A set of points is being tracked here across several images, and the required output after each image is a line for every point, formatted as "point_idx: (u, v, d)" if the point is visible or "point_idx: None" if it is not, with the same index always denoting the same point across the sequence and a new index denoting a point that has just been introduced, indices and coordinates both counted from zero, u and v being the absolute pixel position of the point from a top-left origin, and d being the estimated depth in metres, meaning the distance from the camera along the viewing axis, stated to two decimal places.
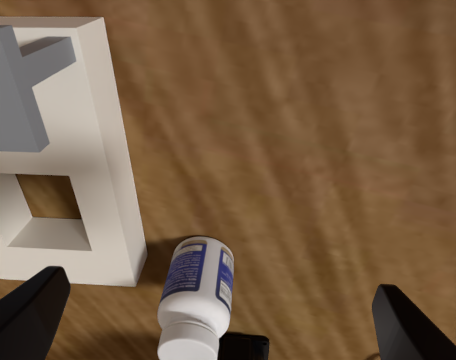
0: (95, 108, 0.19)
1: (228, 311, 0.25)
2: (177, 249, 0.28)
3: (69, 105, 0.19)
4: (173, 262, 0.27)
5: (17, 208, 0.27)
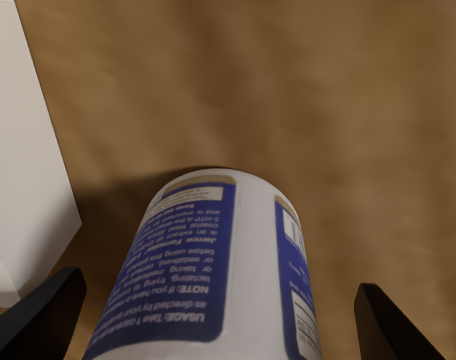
0: None
1: None
2: (152, 203, 0.10)
3: None
4: (137, 236, 0.09)
5: None
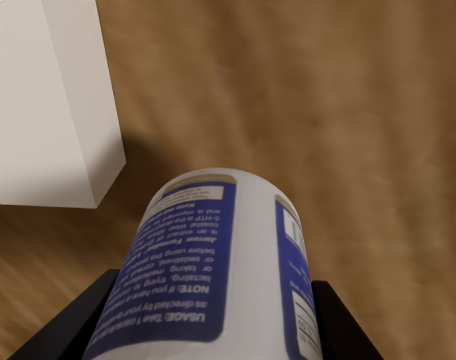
0: None
1: None
2: (152, 202, 0.10)
3: None
4: (137, 236, 0.09)
5: None
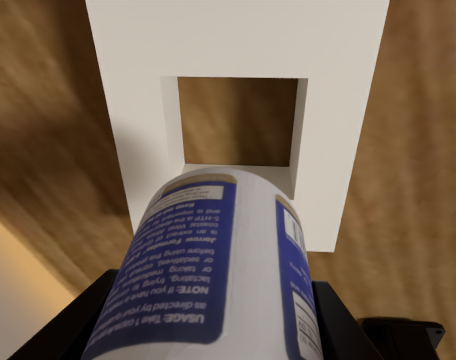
0: None
1: None
2: (152, 202, 0.10)
3: None
4: (136, 236, 0.09)
5: (178, 146, 0.20)
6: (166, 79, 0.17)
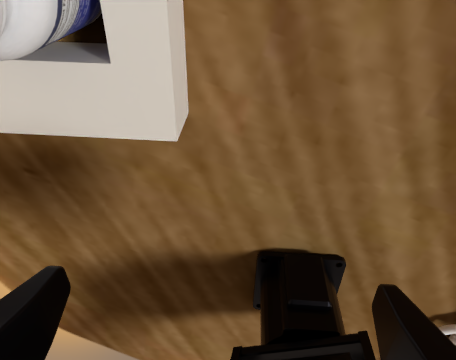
0: None
1: None
2: None
3: None
4: None
5: None
6: None
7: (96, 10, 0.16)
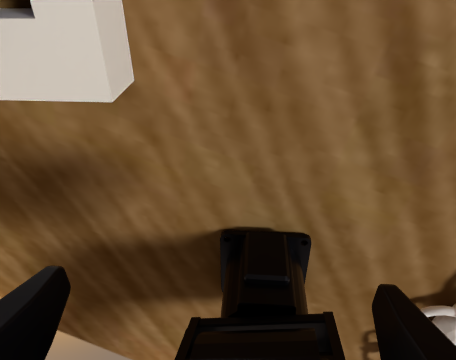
0: None
1: None
2: None
3: None
4: None
5: None
6: None
7: None
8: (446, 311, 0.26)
